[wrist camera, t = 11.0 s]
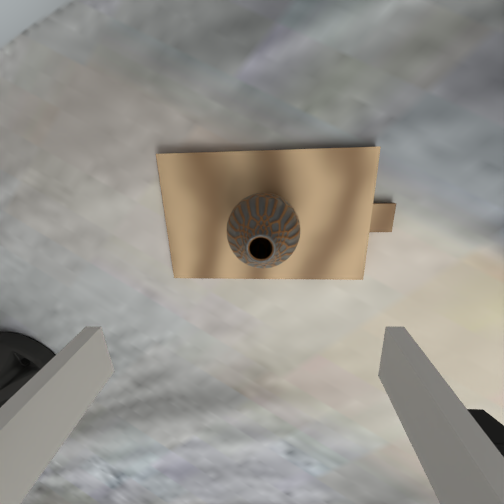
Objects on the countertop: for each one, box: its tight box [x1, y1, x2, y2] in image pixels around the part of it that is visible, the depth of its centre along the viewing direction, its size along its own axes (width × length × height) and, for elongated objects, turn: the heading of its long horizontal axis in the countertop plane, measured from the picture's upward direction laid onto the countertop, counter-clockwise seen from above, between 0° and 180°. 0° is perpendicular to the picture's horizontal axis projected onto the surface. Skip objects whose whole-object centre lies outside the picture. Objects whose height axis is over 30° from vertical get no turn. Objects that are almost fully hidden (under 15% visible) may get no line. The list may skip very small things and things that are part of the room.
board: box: [156, 147, 396, 280], centre depth 29 cm, size 24×14×1 cm, turn 92°
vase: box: [226, 192, 300, 268], centre depth 24 cm, size 7×7×9 cm
